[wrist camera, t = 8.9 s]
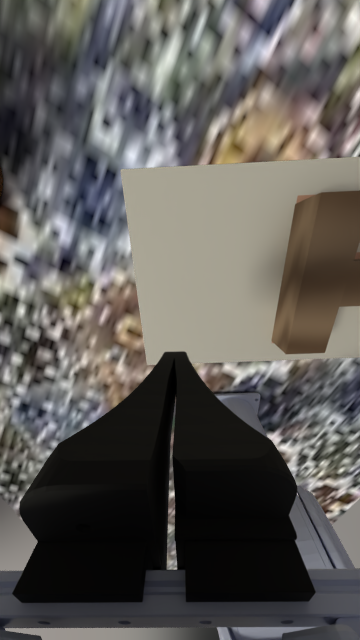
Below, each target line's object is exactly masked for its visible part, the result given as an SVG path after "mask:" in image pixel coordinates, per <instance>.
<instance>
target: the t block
mask: <svg viewBox="0 0 360 640" xmlns="http://www.w3.org/2000/svg"><path fill="white" fill-rule="evenodd" d="M359 243H360V190H359V191H339V192H321V193H319V194H317V195H314V196H312V197H310V198H308V199H305V200H303V201H301V202H299V203H296V204H295V208H294V214H293V219H292V225H291V231H290V236H289V242H288V248H287V254H286V259H285V265H284V271H283V277H282V282H281V288H280V294H279V300H278V305H277V311H276V317H275V322H274V328H273V334H272V340H271V341H272V342H273V343H274V344H275V345H276V346H277V347H279V348H280V349H281V350H282V351H283V352H284V353H285V354H312V353H325V351H326V348H327V344H328V341H329V338H330V335H331V332H332V329H333V325H334V322H335V319H336V316H337V313H338V309H339V307H348V306H360V259H355V255H356V252H357V249H358V246H359Z"/></svg>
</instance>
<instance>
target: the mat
mask: <svg viewBox="0 0 360 640" xmlns="http://www.w3.org/2000/svg"><path fill="white" fill-rule="evenodd" d="M121 177H122V184H123V191H124V199H125V206H126V214H127V221H128V228H129V236H130V243H131V250H132V258H133V265H134V272H135V280H136V287H137V294H138V302H139V309H140V316H141V324H142V331H143V339H144V346H145V353H146V361H147V365H156V364H157V363H158V361H159V360H160V358H161V357H162V355H163V353H164V352H178V351H185V352H186V353H187V356H188V358H189V360H190V362H191V363H217V362H245V361H273V360H300V359H328V358H356V357H360V306H348V307H339V309H338V313H337V316H336V319H335V322H334V325H333V329H332V332H331V335H330V338H329V341H328V344H327V348H326V351H325V353H312V354H285V353H284V352H283V351H282V350H281V349H280V348H279V347H277V346H276V345H275V344H274V343H273V342H272V341H271V340H272V334H273V328H274V322H275V317H276V311H277V305H278V300H279V294H280V288H281V282H282V277H283V271H284V265H285V259H286V254H287V248H288V242H289V236H290V231H291V225H292V219H293V214H294V208H295V204H296V203H299V202H301V201H303V200H305V199H308V198H310V197H312V196H314V195H317V194H319V193H321V192H339V191H359V190H360V157H348V158H329V159H310V160H291V161H273V162H254V163H235V164H216V165H197V166H179V167H160V168H141V169H122V170H121ZM355 259H360V243H359V246H358V249H357V252H356V255H355Z"/></svg>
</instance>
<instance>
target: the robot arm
mask: <svg viewBox="0 0 360 640" xmlns="http://www.w3.org/2000/svg"><path fill="white" fill-rule="evenodd" d="M175 397H176V415H175V430H174V443H173V455H172V456H173V472H174V489H175V541H176V554H177V570H166V568H167V531H168V497H169V467H170V441H171V430H172V421H173V413H174V405H175ZM260 397H261V396H260V394H259V393H228V394H213V393H212V391H211V390H210V389H209V388H208V387H207V386H206V384H205V383H204V382H203V381H202V379H201V378H200V377H199V375H198V374H197V372H196V371H195V369H194V367H193V366H192V364H191V362H190V360H189V358H188V356H187V353H186V352H185V351H178V352H164V353H163V355H162V357H161V358H160V360H159V361H158V363H157V364H156V366H155V367H154V368H153V370H152V371H151V372H150V374H149V375H148V376H147V377H146V378H145V379H144V381H143V382H142V383H141V384H140V385H139V386H138V387H137V388H136V389H135V390H134V391H133V392H132V393H131V394H130V395H129V396H128V397H126V398H125V399H124V400H123V401H122V402H121V403H119V404H118V405H117V406H116V407H114V408H113V409H112V410H110V411H109V412H108V413H106V414H105V415H104V416H102V417H101V418H99V419H98V420H96V421H95V422H93V423H92V424H90V425H89V426H87V427H86V428H84V429H82V430H81V431H79V432H77V433H76V434H74V435H73V436H71V437H69V438H68V439H66V440H64V441H63V442H61V443H59V444H58V446H57V447H56V448H55V450H54V451H53V452H52V454H51V455H50V456H49V458H48V459H47V461H46V462H45V464H44V466H43V467H42V469H41V470H40V472H39V473H38V475H37V476H36V478H35V479H34V481H33V483H32V484H31V486H30V487H29V489H28V490H27V492H26V493H25V495H24V496H23V498H22V500H21V501H20V508H19V510H20V515H21V517H22V519H23V521H24V522H25V524H26V525H27V526H28V528H29V529H30V531H31V532H32V534H33V535H34V537H35V538H36V539H37V541H38V543H37V545H36V547H35V549H34V551H33V553H32V555H31V557H30V559H29V561H28V563H27V565H26V567H25V569H24V571H0V640H42V639H41V637H40V636H37V635H30V634H23V633H16V632H9V631H5V628H123V627H124V628H144V627H145V628H150V627H152V628H153V627H154V628H156V627H217V629H218V632H219V637H220V640H360V569H355V567H354V565H353V564H352V562H351V560H350V558H349V556H348V554H347V553H346V550H345V549H344V547H343V545H342V543H341V541H340V539H339V538H338V536H337V534H336V532H335V530H334V529H333V527H332V525H331V523H330V522H329V520H328V518H327V516H326V515H325V513H324V511H323V510H322V508H321V506H320V505H319V503H318V501H317V500H316V498H315V497H314V495H313V494H312V493H311V492H309V491H308V490H306V489H304V488H303V486H301V485H299V486H297V485H296V482H295V480H294V478H293V476H292V474H291V472H290V470H289V468H288V466H287V464H286V463H285V461H284V459H283V458H282V456H281V454H280V453H279V451H278V450H277V448H276V447H275V445H274V444H273V442H272V441H271V440H270V439H269V438H268V437H267V435H266V433H265V431H264V429H263V427H262V425H261V423H260V420H259V418H258V416H257V415H258V409H259V403H260ZM297 493H298V495H299V497H298V495H297ZM299 498H300V499H299ZM300 500H301V501H300ZM301 502H302V503H301Z"/></svg>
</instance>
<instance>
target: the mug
mask: <svg viewBox="0 0 360 640" xmlns="http://www.w3.org/2000/svg"><path fill="white" fill-rule="evenodd" d="M2 188H3V177H2V171H1V167H0V197H1V194H2Z"/></svg>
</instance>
